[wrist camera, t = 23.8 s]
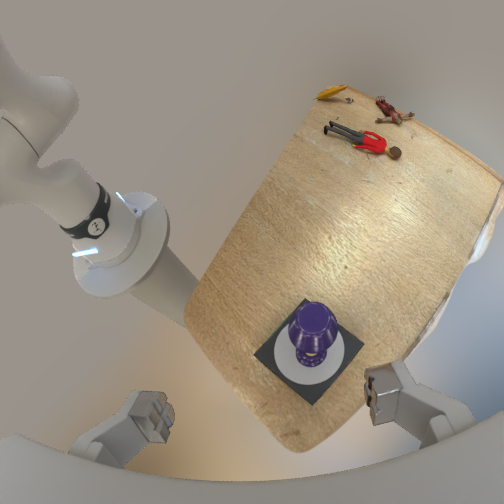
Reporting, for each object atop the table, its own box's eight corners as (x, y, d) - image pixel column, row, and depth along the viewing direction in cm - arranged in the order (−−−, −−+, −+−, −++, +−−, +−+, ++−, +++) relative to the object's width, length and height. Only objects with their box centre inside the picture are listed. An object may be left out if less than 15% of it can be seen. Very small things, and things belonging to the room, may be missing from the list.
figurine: (398, 93, 60) (420, 114, 54) (397, 101, 62) (419, 123, 57) (359, 99, 62) (379, 121, 56) (360, 108, 64) (379, 131, 58)
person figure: (324, 140, 62) (396, 169, 54) (321, 132, 58) (397, 162, 50) (333, 123, 61) (404, 150, 53) (330, 115, 57) (405, 142, 50)
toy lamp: (291, 338, 38) (278, 301, 23) (324, 328, 37) (332, 285, 23) (299, 371, 35) (292, 356, 21) (333, 361, 35) (350, 339, 21)
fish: (350, 80, 60) (342, 82, 57) (353, 87, 61) (346, 90, 58) (313, 95, 70) (305, 98, 67) (317, 101, 70) (308, 105, 68)
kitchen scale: (256, 356, 41) (251, 353, 38) (304, 303, 43) (303, 295, 40) (312, 404, 36) (312, 405, 33) (360, 347, 38) (365, 343, 35)
